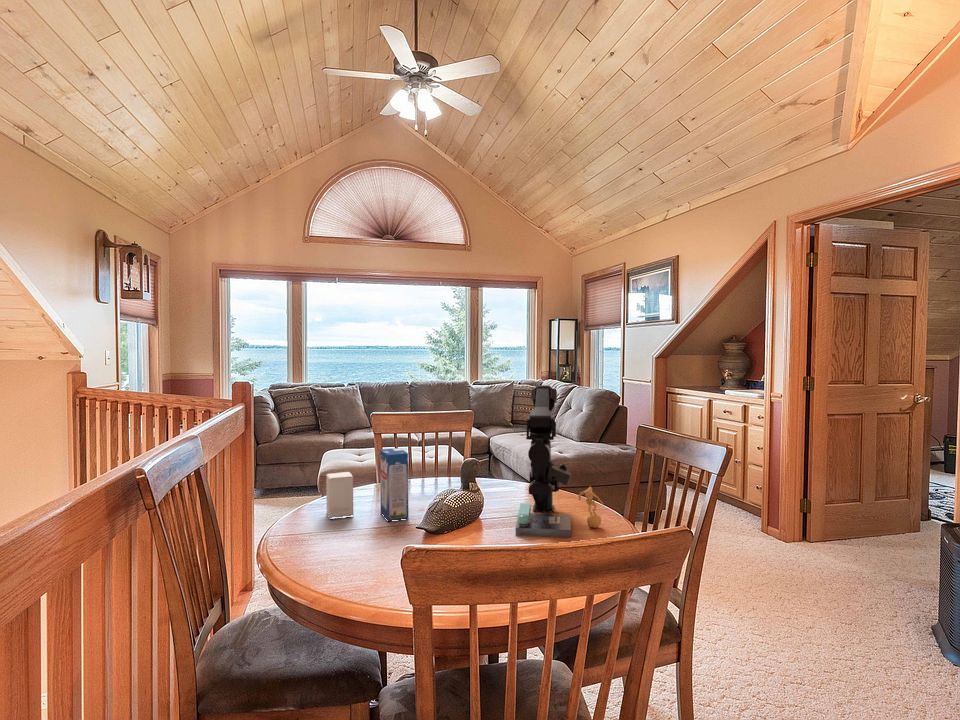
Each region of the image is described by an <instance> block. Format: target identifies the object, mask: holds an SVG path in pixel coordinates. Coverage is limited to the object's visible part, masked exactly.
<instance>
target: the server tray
mask: <svg viewBox="0 0 960 720" xmlns="http://www.w3.org/2000/svg"><path fill="white" fill-rule="evenodd" d="M516 520H517V521H516V524H515V536H529V537H531V536H532V537H549V538H550V537H552V538H553V537H554V538H556V537H557V538H571V537H572V523H571V514H570V513H569V514H565V513H564V514H563V513H544V512H539V513H538V512H536V513H535V512H530V517H529V523H528V524H519V523H518V518H517V519H516Z"/></svg>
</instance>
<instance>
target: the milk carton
mask: <svg viewBox="0 0 960 720" xmlns="http://www.w3.org/2000/svg"><path fill="white" fill-rule="evenodd" d="M379 459H380V460H379V465H380V466H379V468H380V469H379V471H380V472H379V475H380V476H379V479H380V481H379V482H380V484H379V485H380V489H379V490H380V495H379V497H380V514H381V513H382V514H383V515H384V517H385V518H386V519H387V520H388V521H392V520H401V519H409V453H408V452H406V451H405V450H403V449H402V448H400V447H397V448H383V449H379ZM382 514H381V515H382ZM384 517H383V518H384ZM385 518H384V519H385ZM386 519H385V520H386Z"/></svg>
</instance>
